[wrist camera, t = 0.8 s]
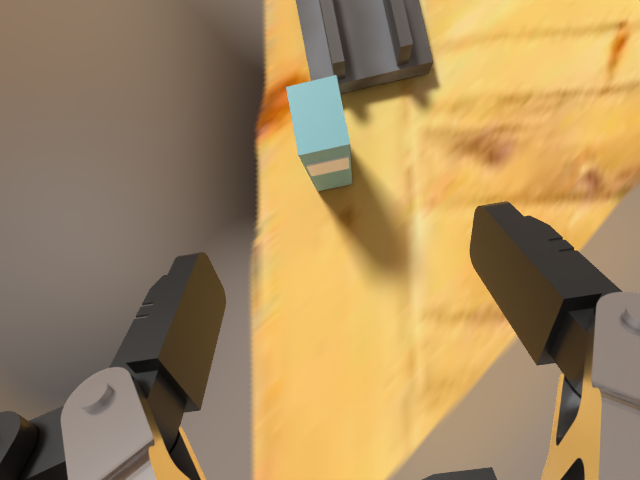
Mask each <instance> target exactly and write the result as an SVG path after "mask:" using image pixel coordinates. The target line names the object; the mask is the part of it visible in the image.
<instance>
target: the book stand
mask: <svg viewBox="0 0 640 480" xmlns="http://www.w3.org/2000/svg"><path fill="white" fill-rule="evenodd" d="M296 3H297V8H298V14H299V19H300V24H301V29H302V35H303V40H304V45H305V50H306V56H307V61H308V66H309V71H310V77H311V81H313V80H318V79H322V78H326V77H330V76H334V75H336V76H337V81H338V86H339V91H340V94H341V93H346V92H350V91H354V90H358V89H363V88H367V87H371V86H375V85H380V84H384V83H388V82H392V81H397V80H401V79H405V78H409V77H414V76H418V75H422V74H426V73H429V71H430V68H431V65H432V63H433V60H432V56H431V51H430V47H429V43H428V39H427V34H426V30H425V26H424V21H423V17H422V13H421V9H420V4H419V0H296Z"/></svg>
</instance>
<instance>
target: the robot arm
mask: <svg viewBox="0 0 640 480" xmlns="http://www.w3.org/2000/svg"><path fill="white" fill-rule="evenodd" d="M562 238H563V237H562V236H561V235H559V234H558V233H557V232H556V231H555V230H554V229H553V228H552V227H551V226H550V225H548V224H546V223H544V222H542V221H540V220H538V219H536V218H534V217H531V216H523V215H522V214H521V213H520V212H519V211H518V210H517V209H516V208H515V207H514V206H513V205H511V204H510V203H509V202H500V203H494V204H488V205H482V206H478V207H477V208H476V210H475V213H474V220H473V228H472V235H471V243H470V258H471V262H472V265H473V267H474V269H475V270H476V272H477V274H478V275H479V277H480V278H481V280H482V281H483V283H484V284H485V286H486V287H487V289H488V291H489V292H490V294H491V295H492V297H493V298H494V300H495V301H496V303H497V305H498V306H499V308H500V309H501V311H502V312H503V314H504V315H505V317H506V318H507V320H508V322H509V323H510V325H511V326H512V328H513V329H514V331H515V332H516V334H517V336H518V337H519V339H520V340H521V342H522V343H523V345H524V346H525V348H526V349H527V351H528V353H529V354H530V356H531V357H532V359H533V360H534V362H535V363H536V365H544V364H551V363H556V364H557V365H558V367H559V368H560V370H561V371H562V374H561V376H560V379H559V385H558V392H557V399H556V407H555V415H554V421H553V430H552V436H551V443H550V450H549V454H548V458H547V462H546V464H545V467H544V471H543V474H542V478H541V480H640V294H637V293H630V292H622V291H621V290H620V289H619V288H618V287H617V286H616V285H614V284H613V283H612V282H611V281H610V280H609V279H608V278H607V277H606V276H605V275H603V274H602V273H601V272H600V271H599V270H598V269H597V268H596V267H595V266H594V265H592V264H591V263H590V262H589V261H588V260H587V259H586V258H585V257H584V256H583V255H581V254H580V253H579V252H578V251H575V250H574V247H573V246H572V245H570V244H569V243H568V242H567V241H566V240H563V239H562ZM142 305H143V306H142V307H140V309H139V312H138V313H137V315H136V319H134V321H133V323H132V325H131V327H130V329H129V330H128V332H127V334H126V336H125V338H124V340H123V342H122V344H121V346H120V348H119V350H118V352H117V354H116V356H115V358H114V359H113V362H112V363H111V365H110V367H109V368H107V369H105V370H102V371H100V372H97V373H96V374H94V375H92V376H91V377H89V378H88V379H86V380H85V381H84V382H83V383H82V384H81V385H79V386H78V387H77V388H76V390H75V391H74V392H73V393H72V394H71V396H70V397H69V398H68V400H67V402H66V403H65V405H64V406H62V407H60V408H58V409H55V410H53V411H51V412H48V413H46V414H44V415H41V416H39V417H37V418H35V419H32V420H30V421H28V420H26V419H25V418H23V417H22V416H20V415H18V414H17V413H15V412H11V411H6V412H1V413H0V480H206V478H205V477H204V474H203V472H202V470H201V467H200V465H199V463H198V461H197V459H196V457H195V454H194V452H193V450H192V448H191V446H190V444H189V441H188V439H187V437H186V435H185V432H184V430H183V429H182V427H181V426H180V424H181V420H182V416H183V413H184V412H192V411H199V410H201V406H202V401H203V397H204V393H205V389H206V385H207V381H208V376H209V372H210V368H211V364H212V360H213V356H214V352H215V348H216V344H217V340H218V335H219V331H220V327H221V323H222V319H223V315H224V310H225V306H226V298H225V292H224V288H223V286H222V284H221V282H220V280H219V278H218V276H217V274H216V272H215V270H214V268H213V266H212V264H211V262H210V260H209V258H208V256H207V255H206V254H205V253H203V252H201V253H195V254H190V255H183V256H178V257H177V258H176V259H175V260H174V262H173V265H172V267H171V269H170V271H169V273H168V275H164V276H162V277H161V278H160V279H159V280H158V281H157V282H156V283H155V284H154V285H153V286H152V288H151V289H150V290H149V292H148V294H147V296H146V298H145V299H144V302H143V303H142ZM423 480H497V478H496V476H495V473H494V471H493V469H492V467H490V468H482V469H474V470H465V471H458V472H449V473H440V474H434V475H431V476H429V477H427V478H425V479H423Z"/></svg>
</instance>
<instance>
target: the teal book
mask: <svg viewBox="0 0 640 480" xmlns="http://www.w3.org/2000/svg"><path fill="white" fill-rule="evenodd" d="M286 89H287V95H288V100H289V106H290V111H291V117H292V122H293V128H294V133H295V139H296V144H297V150H298V155H299V157H300V159H301V161H302V163H303V165H304V167H305V169H306V171H307V173H308V174H309V176H310V178H311V180H312V182H313V184H314V186H315V188H316V190H317V191H322V190H327V189H332V188H336V187H341V186H346V185H351V184H352V169H351V151H350V141H349V136H348V131H347V126H346V121H345V116H344V111H343V106H342V101H341V96H340V91H339V86H338V81H337V76H336V75H334V76H330V77H326V78H322V79H318V80H313V81H309V82H305V83H301V84H297V85H293V86H289V87H286Z"/></svg>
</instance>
